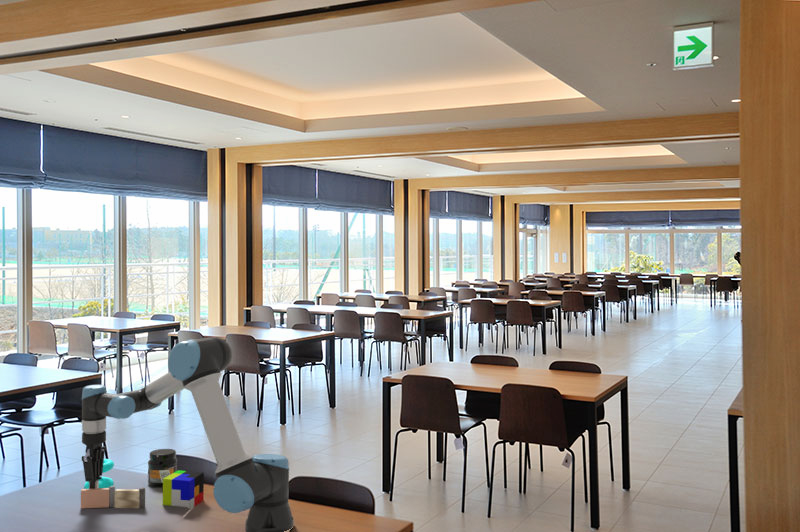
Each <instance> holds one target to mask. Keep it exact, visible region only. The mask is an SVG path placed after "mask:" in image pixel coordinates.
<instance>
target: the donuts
mask: <svg viewBox="0 0 800 532" xmlns="http://www.w3.org/2000/svg"><path fill="white" fill-rule="evenodd" d="M114 462H115V461H113V460H112V459H109V458H104V462H103V471H102V474H104V473H107V472H109V471H111V470H112V469H113V468H114V466H115V463H114ZM101 477H102V479H98V480H99V488H109V487H110V486H115V485H114V480H113V479H112V478H111V477H107V476H101ZM83 487H84V488H83V489H89V482H86V481H85V483H84V486H83Z"/></svg>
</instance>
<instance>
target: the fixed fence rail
mask: <svg viewBox="0 0 800 532" xmlns="http://www.w3.org/2000/svg"><path fill="white" fill-rule="evenodd" d="M145 508H146V488H145V487H139V488H137V489H136V488H133V489H132V488H131V489H130V488H129V489H128V488H124V489H123V488H115V506H114V509H145Z"/></svg>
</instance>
